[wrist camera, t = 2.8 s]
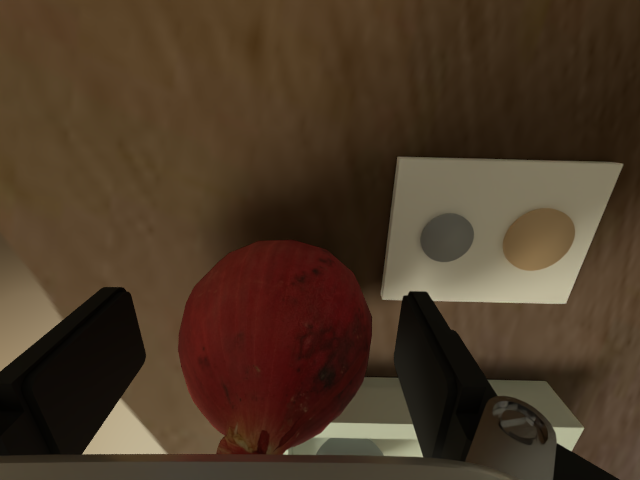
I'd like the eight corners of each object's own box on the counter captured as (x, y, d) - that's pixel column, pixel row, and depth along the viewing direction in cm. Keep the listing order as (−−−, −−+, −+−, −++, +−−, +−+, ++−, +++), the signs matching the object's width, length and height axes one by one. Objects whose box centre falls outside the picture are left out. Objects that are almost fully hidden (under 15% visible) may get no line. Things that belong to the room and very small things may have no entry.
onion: (328, 186, 12) (339, 319, 4) (375, 302, 14) (437, 523, 6) (197, 239, 13) (25, 424, 5) (261, 340, 15) (201, 572, 7)
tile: (397, 156, 11) (401, 159, 11) (613, 162, 11) (628, 164, 11) (380, 294, 14) (383, 302, 13) (559, 298, 14) (569, 306, 13)
